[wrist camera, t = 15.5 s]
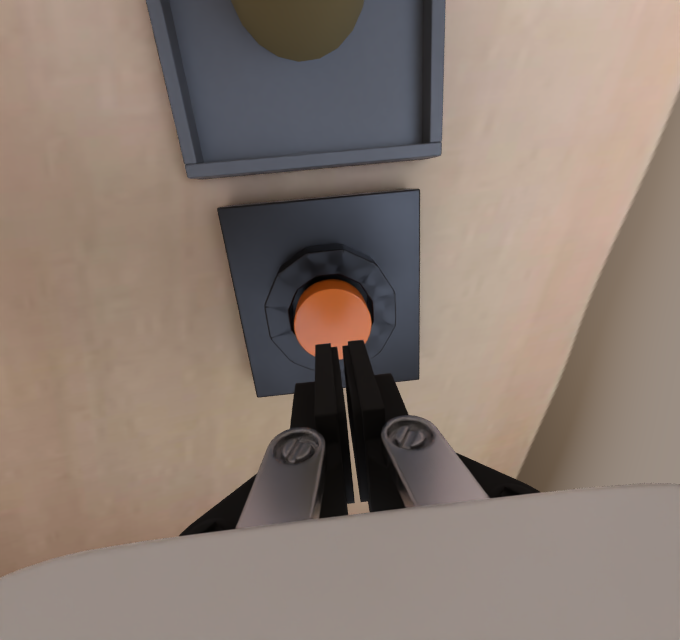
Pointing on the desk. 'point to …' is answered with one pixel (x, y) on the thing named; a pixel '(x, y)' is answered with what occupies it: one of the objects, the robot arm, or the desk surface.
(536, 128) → the desk surface
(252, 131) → the tray
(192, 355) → the desk surface
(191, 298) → the desk surface
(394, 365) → the control block
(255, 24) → the olive rounded lobed piece
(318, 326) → the button
